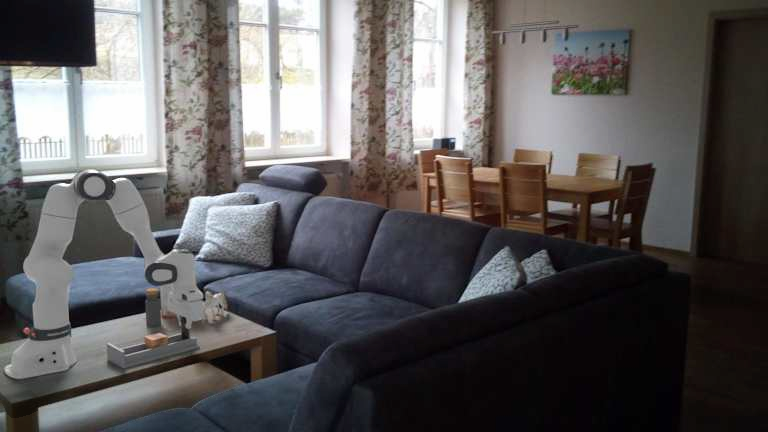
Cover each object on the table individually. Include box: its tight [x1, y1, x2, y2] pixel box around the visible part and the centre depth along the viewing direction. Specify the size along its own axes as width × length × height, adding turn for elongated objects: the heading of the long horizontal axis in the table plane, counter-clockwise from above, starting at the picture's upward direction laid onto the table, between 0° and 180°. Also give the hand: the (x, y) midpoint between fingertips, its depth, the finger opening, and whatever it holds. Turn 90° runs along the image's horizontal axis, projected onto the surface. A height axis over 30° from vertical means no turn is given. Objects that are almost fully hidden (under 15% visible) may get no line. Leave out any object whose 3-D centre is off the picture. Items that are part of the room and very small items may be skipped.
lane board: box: [106, 333, 201, 369], centre depth 257 cm, size 30×12×6 cm, turn 136°
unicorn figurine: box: [203, 291, 228, 322], centre depth 297 cm, size 7×20×13 cm, turn 177°
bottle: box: [144, 287, 162, 328], centre depth 289 cm, size 6×6×15 cm
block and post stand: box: [144, 317, 191, 350], centre depth 260 cm, size 16×6×10 cm, turn 136°
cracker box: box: [159, 271, 197, 318], centre depth 301 cm, size 14×6×21 cm, turn 84°
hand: (185, 326), depth 265 cm, fingers closed on block and post stand, 3 cm apart
